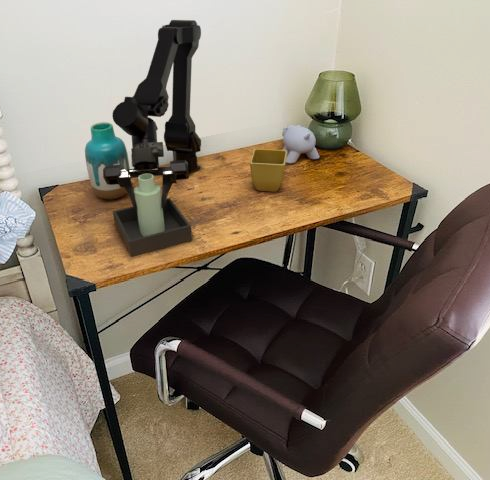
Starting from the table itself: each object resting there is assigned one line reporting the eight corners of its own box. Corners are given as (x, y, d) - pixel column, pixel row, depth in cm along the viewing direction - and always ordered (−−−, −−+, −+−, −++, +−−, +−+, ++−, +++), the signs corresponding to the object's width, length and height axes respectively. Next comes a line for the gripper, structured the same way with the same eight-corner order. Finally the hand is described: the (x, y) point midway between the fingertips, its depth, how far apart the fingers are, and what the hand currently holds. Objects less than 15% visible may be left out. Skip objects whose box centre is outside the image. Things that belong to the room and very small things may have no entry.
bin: (115, 225, 117) (112, 211, 115) (171, 211, 121) (169, 197, 119) (131, 257, 106) (128, 241, 104) (192, 240, 110) (191, 225, 108)
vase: (141, 193, 129) (132, 124, 119) (109, 209, 123) (96, 138, 112) (116, 182, 136) (105, 115, 125) (84, 196, 129) (70, 127, 118)
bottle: (135, 231, 113) (127, 177, 105) (153, 221, 117) (147, 168, 109) (151, 240, 110) (144, 185, 102) (169, 229, 113) (164, 175, 105)
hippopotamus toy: (302, 142, 153) (304, 112, 148) (325, 161, 141) (328, 130, 136) (270, 147, 151) (271, 117, 146) (290, 167, 139) (292, 135, 134)
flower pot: (283, 196, 125) (284, 164, 120) (249, 194, 127) (249, 162, 122) (285, 180, 132) (287, 149, 127) (253, 179, 134) (253, 148, 129)
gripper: (96, 131, 103) (100, 203, 100) (185, 125, 104) (191, 196, 101) (105, 151, 114) (109, 216, 111) (185, 145, 115) (191, 209, 112)
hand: (149, 209), depth 108 cm, fingers closed on bottle, 6 cm apart
